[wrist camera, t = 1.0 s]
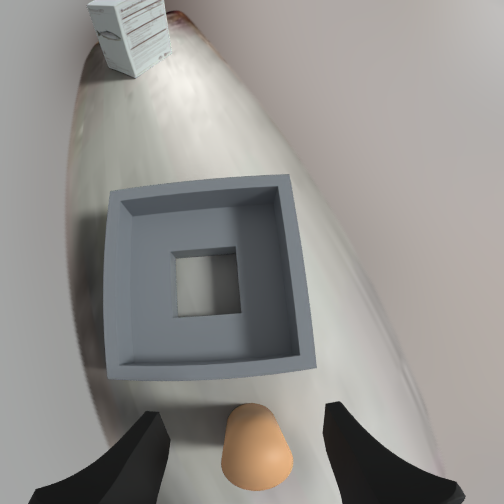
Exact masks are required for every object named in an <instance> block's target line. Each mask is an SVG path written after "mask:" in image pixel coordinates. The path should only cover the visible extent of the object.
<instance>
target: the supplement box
mask: <svg viewBox="0 0 504 504" xmlns="http://www.w3.org/2000/svg"><path fill="white" fill-rule="evenodd" d="M87 8H88V11H89V13H90V17H91V20H92V23H93V26H94V28H95V31H96V34H97V37H98V40H99V43H100V46H101V48H102V51H103V54H104V57H105V59H106V62H107V65H108V67H109V68H111V69H114V70H117V71H120V72H122V73H125V74H127V75H129V76H132V77H134V78H137V77H138V76H140V75H141V74H143V73H144V72H146V71H147V70H149V69H150V68H151V67H153V66H154V65H156V64H157V63H159V62H160V61H162V60H163V59H165V58H166V57H168V56H169V55H171V54H172V49H171V43H170V37H169V31H168V25H167V18H166V12H165V6H164V0H94V1H92V2H91V3H89V4H87Z"/></svg>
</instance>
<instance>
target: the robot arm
mask: <svg viewBox="0 0 504 504" xmlns="http://www.w3.org/2000/svg"><path fill="white" fill-rule="evenodd" d="M323 437H324V442H325V447H326V452H327V455H328V458H329V461H330V464H331V467H332V470H333V473H334V476H335V478H336V481H337V484H338V487H339V490H340V494H341V498H342V503H343V504H461V503H462V502H463V501H464V499H465V495H464V493H463V491H462V489H461V488H460V486H459V485H458V484H457V482H455V481H452V480H448V479H445V478H441V477H438V476H435V475H433V474H430V473H428V472H426V471H423V470H421V469H419V468H417V467H415V466H413V465H412V464H410V463H408V462H406V461H404V460H403V459H401V458H400V457H398V456H397V455H395V454H394V453H392V452H391V451H389V450H388V449H387V448H385V447H384V446H383V445H382V444H381V443H379V442H378V441H377V440H376V439H375V438H374V437H373V436H371V435H370V434H369V433H368V432H367V431H366V430H365V429H364V428H363V427H362V426H361V425H360V424H359V423H358V422H357V420H356V419H355V418H354V417H353V416H352V415H351V414H350V412H349V411H348V410H347V409H346V408H345V406H344V405H343V404H342V403H341V402H340V401H338V402H333V403H327V404H326V406H325V416H324V425H323ZM169 448H170V438H169V436H168V433H167V431H166V429H165V426H164V424H163V421H162V419H161V416H160V414H159V412H151V411H146V412H145V413H144V414H143V415H142V416H141V417H140V418H139V420H138V421H137V422H136V423H135V424H134V425H133V426H132V427H131V428H130V429H129V431H128V432H127V433H126V434H125V435H124V436H123V437H122V438H121V439H120V440H119V441H118V442H117V443H116V444H115V445H114V446H113V447H112V448H111V449H109V450H108V451H107V452H106V453H105V454H104V455H103V456H101V457H100V458H99V459H98V460H96V461H95V462H94V463H92V464H91V465H89V466H88V467H86V468H85V469H83V470H81V471H79V472H78V473H76V474H74V475H72V476H70V477H68V478H66V479H64V480H62V481H59V482H57V483H54V484H51V485H48V486H45V487H42V488H38V489H36V490H35V492H34V494H33V495H32V497H31V499H30V501H29V503H28V504H156V501H157V497H158V493H159V489H160V485H161V482H162V478H163V475H164V471H165V468H166V464H167V460H168V455H169Z"/></svg>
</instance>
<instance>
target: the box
mask: <svg viewBox="0 0 504 504" xmlns="http://www.w3.org/2000/svg"><path fill="white" fill-rule="evenodd" d="M223 254H236V259H237V271H238V282H239V294H240V304H241V313H236V314H224V315H210V316H195V317H178V309H177V289H176V259H175V258H186V257H199V256H211V255H223ZM103 317H104V340H105V355H106V367H107V377H108V379H116V380H139V381H189V380H213V379H229V378H241V377H252V376H262V375H271V374H279V373H287V372H294V371H301V370H307V369H313V368H317V366H316V356H315V347H314V337H313V328H312V320H311V312H310V304H309V296H308V288H307V281H306V274H305V267H304V260H303V253H302V247H301V240H300V234H299V228H298V221H297V215H296V209H295V204H294V198H293V192H292V187H291V181H290V176H289V174H282V175H260V176H243V177H229V178H216V179H205V180H194V181H184V182H175V183H166V184H158V185H150V186H143V187H135V188H129V189H122V190H115V191H110V197H109V205H108V214H107V224H106V236H105V251H104V275H103Z"/></svg>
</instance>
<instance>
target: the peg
mask: <svg viewBox="0 0 504 504" xmlns="http://www.w3.org/2000/svg"><path fill="white" fill-rule="evenodd" d="M221 467H222V471H223V473H224V475H225V477H226V478H227V479H228V480H229V481H230V482H231V483H232V484H234V485H235V486H237V487H240V488H242V489H246V490H251V491H261V490H266V489H270V488H273V487H275V486H277V485H279V484H280V483H282V482H283V481H284V480H285V479H286V478H287V477H288V475H289V474H290V472H291V470H292V467H293V456H292V453H291V451H290V449H289V447H288V445H287V442H286V440H285V438H284V436H283V434H282V432H281V430H280V428H279V426H278V423H277V421H276V419H275V417H274V415H273V413H272V412H271V411H270V410H269V409H268V408H266V407H265V406H263V405H260V404H255V403H249V404H244V405H241V406H239V407H237V408H236V409H234V410H233V411H232V412H231V414H230V415H229V417H228V420H227V426H226V433H225V440H224V446H223V453H222V460H221Z"/></svg>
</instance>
